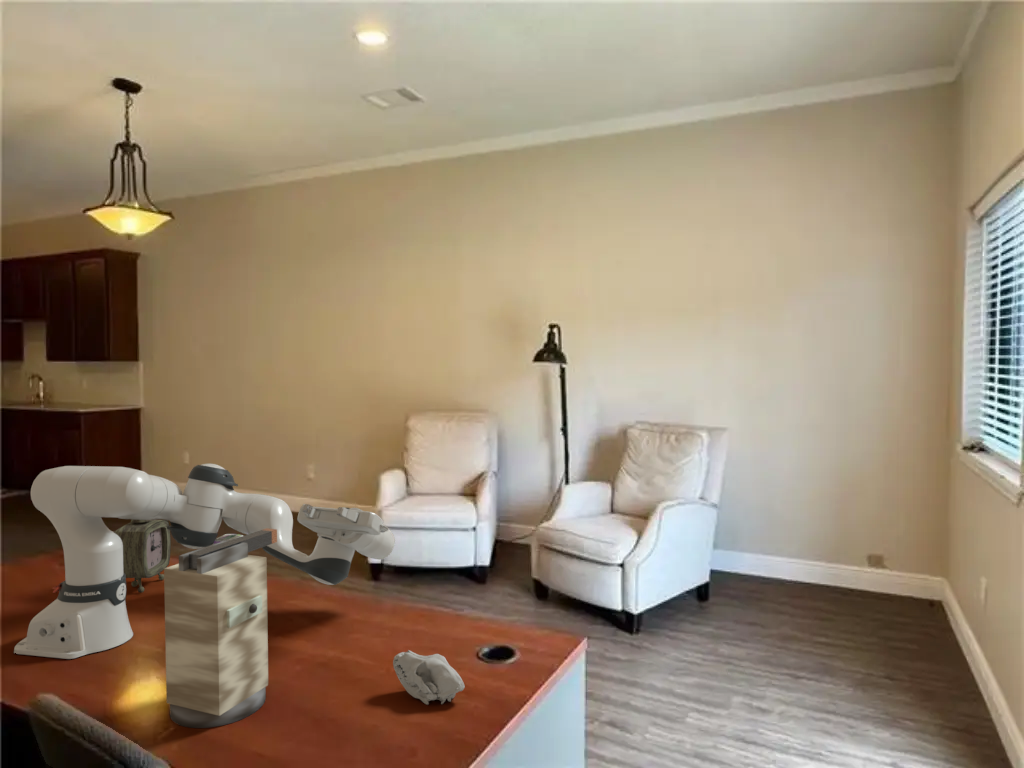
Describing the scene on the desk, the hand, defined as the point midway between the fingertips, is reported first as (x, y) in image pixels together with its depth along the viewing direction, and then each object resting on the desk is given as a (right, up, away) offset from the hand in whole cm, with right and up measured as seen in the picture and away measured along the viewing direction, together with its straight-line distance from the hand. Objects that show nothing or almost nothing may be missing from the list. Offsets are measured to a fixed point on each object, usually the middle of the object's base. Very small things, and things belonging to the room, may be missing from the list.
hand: (322, 509), depth 153 cm
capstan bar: (-10, -4, -24) cm, 26 cm away
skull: (+27, -31, -24) cm, 47 cm away
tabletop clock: (-60, -28, +38) cm, 76 cm away
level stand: (-11, -31, -27) cm, 42 cm away
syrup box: (-35, -28, +36) cm, 58 cm away
